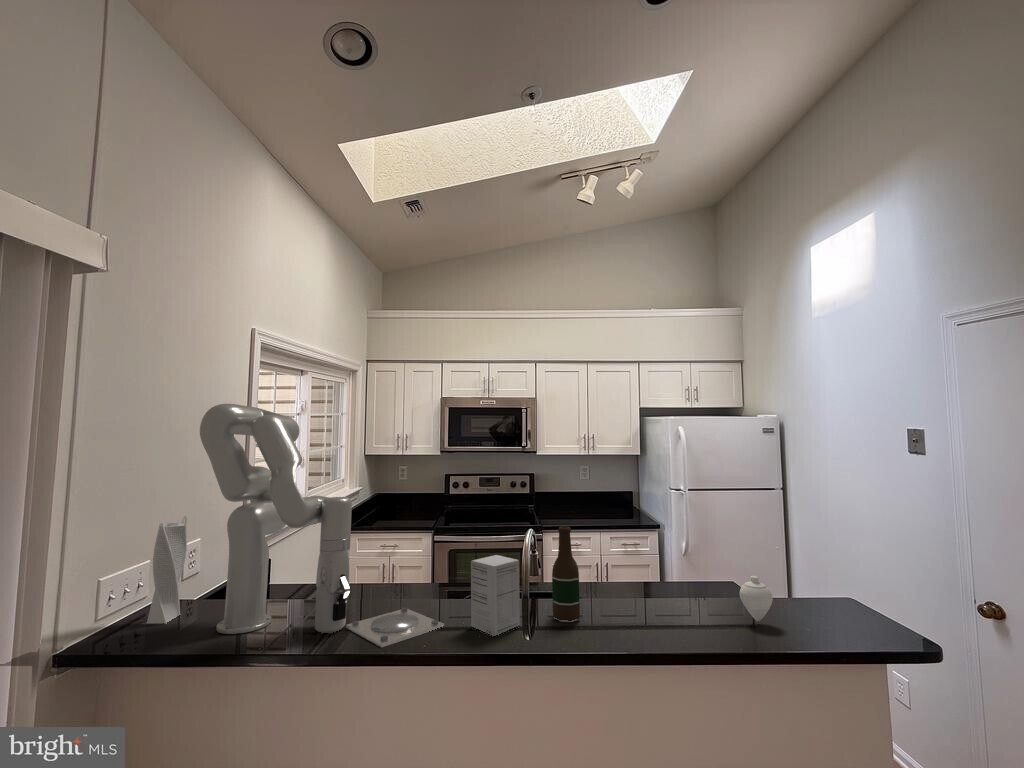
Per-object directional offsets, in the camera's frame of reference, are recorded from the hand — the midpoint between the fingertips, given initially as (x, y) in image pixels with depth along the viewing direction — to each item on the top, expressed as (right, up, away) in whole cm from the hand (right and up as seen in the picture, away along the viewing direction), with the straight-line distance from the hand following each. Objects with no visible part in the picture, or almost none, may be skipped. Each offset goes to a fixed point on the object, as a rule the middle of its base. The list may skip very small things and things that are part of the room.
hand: (332, 615), depth 121 cm
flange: (+16, -3, 0) cm, 17 cm away
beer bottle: (+62, -4, +6) cm, 62 cm away
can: (0, -3, -1) cm, 3 cm away
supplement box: (+42, -3, -1) cm, 43 cm away
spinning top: (+110, -2, 0) cm, 110 cm away
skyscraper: (-49, -5, +7) cm, 50 cm away
